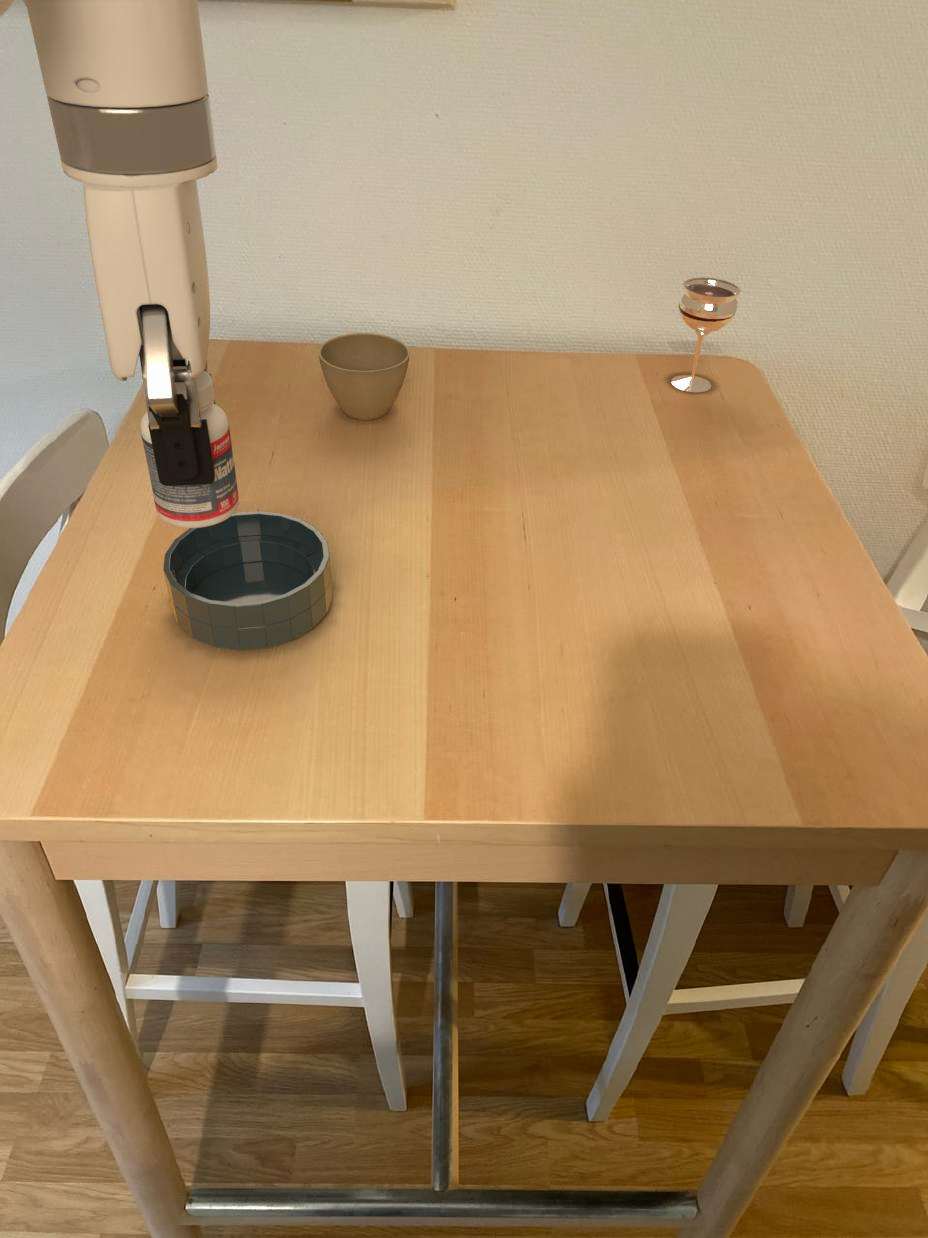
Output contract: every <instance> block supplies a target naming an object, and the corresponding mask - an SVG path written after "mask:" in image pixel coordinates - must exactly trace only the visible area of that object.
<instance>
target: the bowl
mask: <svg viewBox="0 0 928 1238" xmlns="http://www.w3.org/2000/svg"><path fill="white" fill-rule="evenodd" d="M330 560H331V557H330V551H329V542H328V540H326V538H325V537H324V536H323V534H322V533H321V532H320V530H319V529H318V528H316V527H315V526H313V525H311V524H310V523H309V522H307V521H305V520H304V519H301V518H298V517H295V516H292V515H288V514H286V513H281V512H271V511H261V510H254V511H238V512H234V514H233V515H232V516H230V517H229V518H228V519H226V520H224V521H222V522H220V523H218V524H215V525H211V526H207V527H200V528H187V530H185V531H184V532H182V533H181V534H180V535H179V536H177V537H176V538H175V539H174V540H173V541H172V543H171V544H170V546H169V548H168V549H167V550H166V552H165V554H164V559H163V567H162V568H163V569H162V571H163V576H164V580H165V585H166V588H167V589H166V590H167V594H168V595H167V596H168V599H169V604H170V608H171V613H172V615H173V617H174V619H175V622H176V624H177V626H178V627H179V629H181V630H182V631H184V632H185V633H186V634H188V635H189V637H191V638H192V639H194V640H196V641H198V642H200V643H204V644H206V645H208V646H211V647H215V648H220V649H227V650H228V649H229V650H238V651H245V650H246V651H247V650H256V649H257V650H258V649H268V648H271V647H273V646H274V647H275V646H276V645H281V644H284V643H287V642H290V641H293V640H295V639H297V638H298V637H300V636H302V635H304V634H305V633H307V632H309V631H311V630H312V629H314V628H315V626H317V625H318V624H319V623H320V621H321V620H323V619H324V617H325V616H326V615H327V613H328V611H329V608H330V605H331V603H332V601H333V589H332V574H331V572H332V571H331V561H330Z"/></svg>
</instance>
